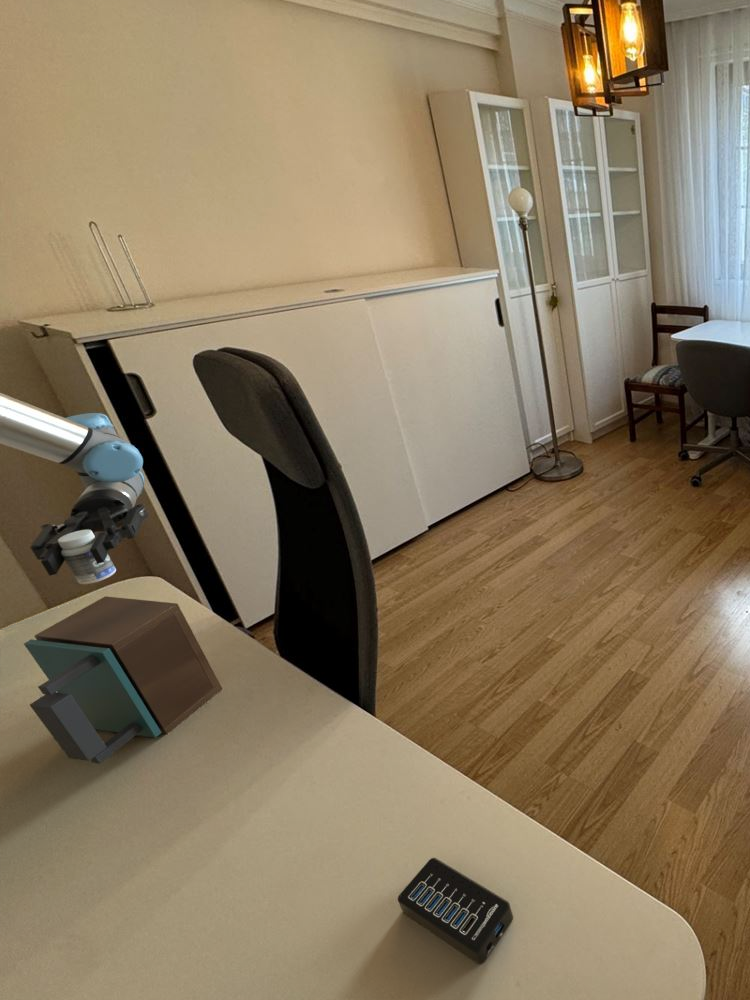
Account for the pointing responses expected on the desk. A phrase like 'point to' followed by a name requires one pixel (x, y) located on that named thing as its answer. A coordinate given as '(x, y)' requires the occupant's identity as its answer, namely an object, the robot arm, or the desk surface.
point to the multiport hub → (456, 909)
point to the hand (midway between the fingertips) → (73, 561)
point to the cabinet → (146, 653)
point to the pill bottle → (84, 557)
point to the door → (87, 700)
